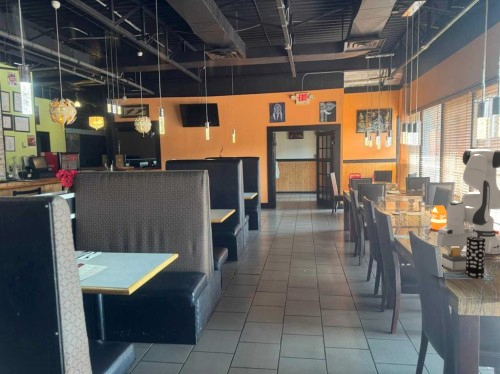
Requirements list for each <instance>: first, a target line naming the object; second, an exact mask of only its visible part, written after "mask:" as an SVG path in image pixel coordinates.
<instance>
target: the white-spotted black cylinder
mask: <svg viewBox="0 0 500 374" xmlns="http://www.w3.org/2000/svg"><path fill="white" fill-rule="evenodd" d="M465 254H466V270H465V277H468V278H471V279H483V278H484V277H485V255H486V253H485V239H484V238H480V237H473V236H472V237H467V246H466V250H465Z"/></svg>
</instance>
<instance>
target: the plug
mask: <svg viewBox="0 0 500 374" xmlns="http://www.w3.org/2000/svg"><path fill="white" fill-rule="evenodd" d="M450 250H451V251H452V254H449V255H451V256H453V257H454V256H460V254H461V253H460V250H461V249H460V248H459V247H458V246H451V248H450Z"/></svg>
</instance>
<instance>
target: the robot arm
mask: <svg viewBox="0 0 500 374" xmlns="http://www.w3.org/2000/svg"><path fill="white" fill-rule="evenodd" d="M461 160H462V163H463V165H465V168H464V171H463V174H462V175H463V177H462V179H463V180H462V181H463V182H464V183H465V184H466V185H467V186H468V187H470V188H472V189H475V190H476V191H469V192H468V191H467V192H465V193H464V194H463V195H462V197H461V200H453V201H449V202H448V205H447V210H446V212H447V216H446V219H447V221H446V226H445V227H442V228H440V229H439V230H437V231H438V232H437V233H438V234H437V238H436V244H437V246H439V247H442V248H445V249H447V253H448V254H452V251H451V250H450V248H451V247H458V248H460V249H461V250H460V254H462V251H463V249H464V246H466V247H467V237H480V238H484V239H485V254H489V255H499V254H500V238H499V237H498V236H497V235H499V234H500V231H498V230H494V223H495V221H494V218H493V217H492V216H491V215H490V210H500V189H499V187H498V185H497V168H500V150H493V149H488V148H487V149H486V148H484V149H473V148H471V149H466V150H465V151H464V152H463V154H462V159H461ZM465 223H466V224H471V225H473V229H470V228H465V227H466V226H465Z"/></svg>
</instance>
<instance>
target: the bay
mask: <svg viewBox="0 0 500 374" xmlns="http://www.w3.org/2000/svg"><path fill="white" fill-rule="evenodd" d="M440 256H441V259H442V264H443V266H442V267H444V268H446V269H447V270H451V271H454V272H455V271H466V253H464V254H463V253H460V256H454V257H453V256H451V255H449V254H448V252H444V253H442V252H441V255H440Z"/></svg>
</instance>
